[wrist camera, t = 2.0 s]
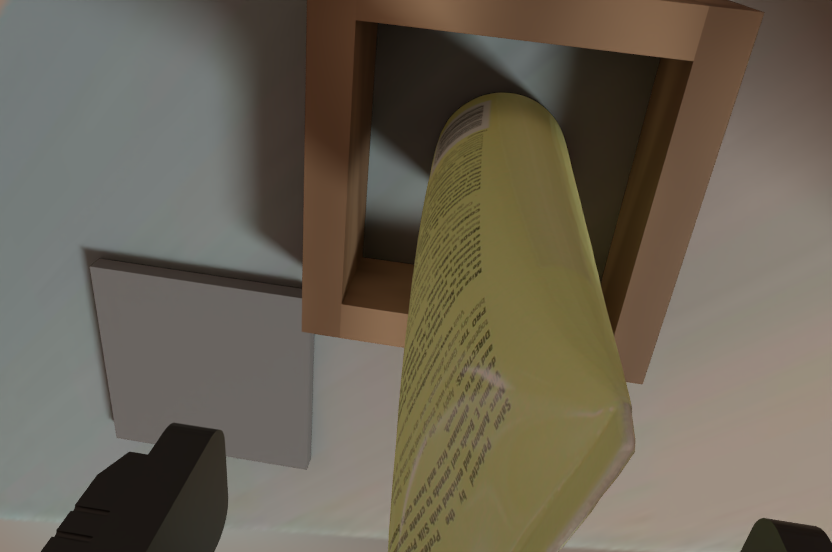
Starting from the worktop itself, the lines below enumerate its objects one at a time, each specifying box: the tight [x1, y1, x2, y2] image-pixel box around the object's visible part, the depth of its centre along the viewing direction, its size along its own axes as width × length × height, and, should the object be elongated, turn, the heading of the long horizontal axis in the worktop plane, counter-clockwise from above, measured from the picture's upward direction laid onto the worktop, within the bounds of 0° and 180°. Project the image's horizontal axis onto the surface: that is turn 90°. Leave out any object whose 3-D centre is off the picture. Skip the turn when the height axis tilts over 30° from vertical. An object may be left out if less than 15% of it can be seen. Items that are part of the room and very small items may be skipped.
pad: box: [90, 258, 314, 470], centre depth 31 cm, size 10×10×1 cm
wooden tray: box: [302, 0, 764, 384], centre depth 24 cm, size 13×13×4 cm
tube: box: [388, 92, 635, 552], centre depth 17 cm, size 6×5×20 cm
